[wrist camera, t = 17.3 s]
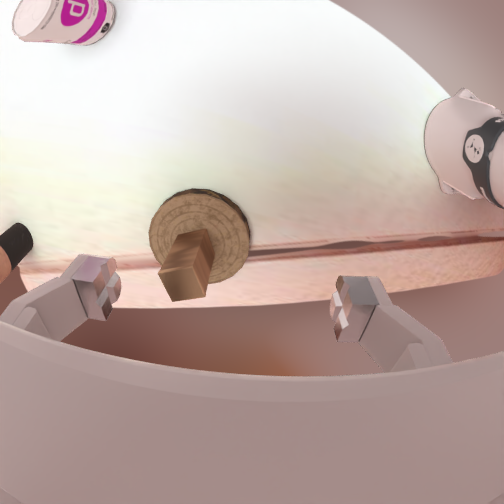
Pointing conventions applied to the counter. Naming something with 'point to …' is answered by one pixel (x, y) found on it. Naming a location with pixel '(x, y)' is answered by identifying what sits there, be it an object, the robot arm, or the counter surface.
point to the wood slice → (200, 217)
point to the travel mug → (13, 248)
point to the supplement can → (62, 21)
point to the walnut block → (188, 266)
